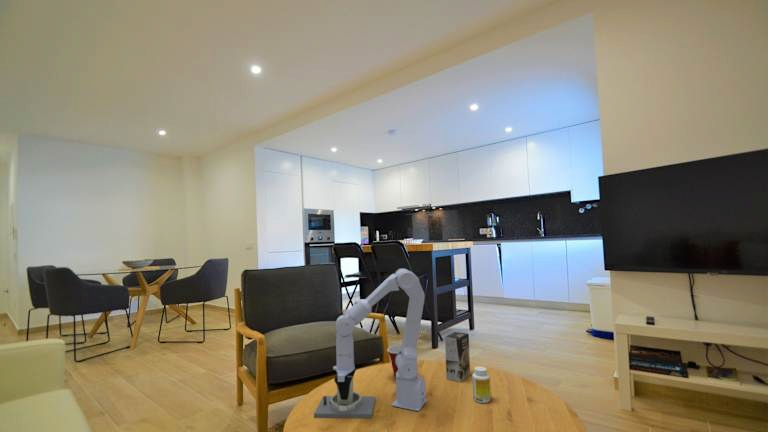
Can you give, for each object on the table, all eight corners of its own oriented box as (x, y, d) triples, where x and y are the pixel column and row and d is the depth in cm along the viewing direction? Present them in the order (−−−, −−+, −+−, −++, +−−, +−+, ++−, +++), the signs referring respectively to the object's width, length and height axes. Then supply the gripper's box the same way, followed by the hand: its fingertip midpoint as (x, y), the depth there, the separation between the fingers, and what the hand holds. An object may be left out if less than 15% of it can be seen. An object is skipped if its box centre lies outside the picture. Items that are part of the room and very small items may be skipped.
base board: (375, 399, 118) (375, 396, 118) (371, 418, 106) (371, 414, 106) (323, 399, 120) (323, 395, 120) (313, 417, 108) (313, 413, 108)
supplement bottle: (494, 401, 115) (492, 370, 115) (479, 405, 113) (478, 372, 113) (483, 394, 120) (482, 364, 120) (470, 397, 118) (468, 367, 119)
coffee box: (461, 382, 130) (459, 338, 131) (445, 378, 134) (444, 336, 135) (471, 374, 138) (469, 333, 139) (456, 371, 141) (454, 331, 142)
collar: (363, 397, 118) (363, 389, 118) (359, 412, 108) (359, 404, 108) (327, 397, 119) (327, 389, 119) (319, 412, 109) (319, 403, 109)
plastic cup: (390, 372, 142) (389, 342, 143) (416, 373, 140) (415, 343, 141) (385, 383, 132) (384, 351, 132) (413, 385, 129) (412, 352, 130)
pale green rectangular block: (339, 400, 116) (338, 375, 116) (353, 400, 115) (352, 375, 116) (336, 406, 111) (336, 381, 112) (351, 407, 111) (350, 381, 111)
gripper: (337, 346, 122) (338, 386, 121) (327, 360, 107) (328, 406, 106) (357, 346, 121) (358, 386, 120) (350, 360, 107) (351, 406, 106)
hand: (346, 395), depth 113 cm, fingers closed on pale green rectangular block, 4 cm apart
